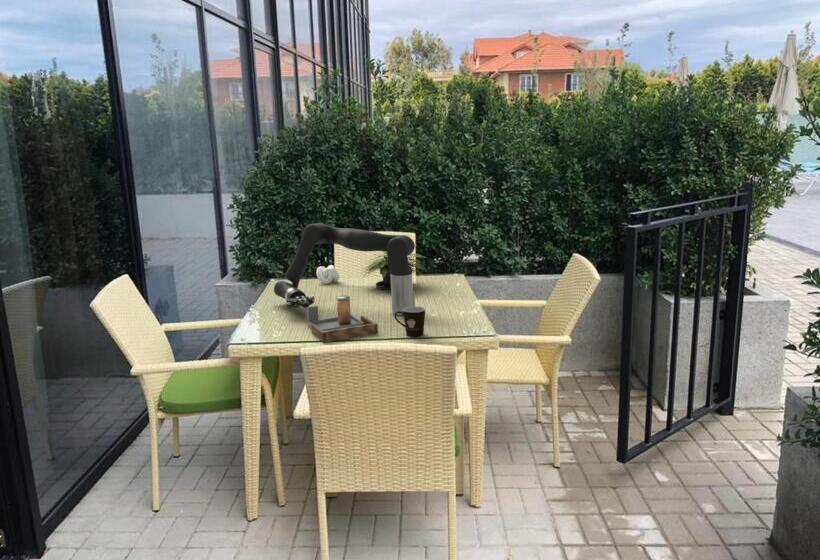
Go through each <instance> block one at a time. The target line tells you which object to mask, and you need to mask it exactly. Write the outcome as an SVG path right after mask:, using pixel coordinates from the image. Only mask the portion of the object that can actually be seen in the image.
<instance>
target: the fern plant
mask: <svg viewBox="0 0 820 560" xmlns="http://www.w3.org/2000/svg"><path fill="white" fill-rule="evenodd" d="M382 253H383V254H382V255H379V254H377V253H376V254H373V256H377V258H375V260H372V259H371V260H369V261H366V262H365V264H366V266H365V267H362V270H363V271H361V274H363V273H364V275H363V277H362V278H364V277H365V276H366V275H367V276H369V275H371V274H374V273H375V271H378V270H379V273H380V275H381V276H382V280H380V281H377V282H376V283H375V286H376V290H378V291H382V290H383V291H384V292H391V273H390V269H389V266H388V255H387V251H382ZM415 258H424V259H425V258H426V259H427V257H426V256H423V255H421V254H418V253H411V254H410V255H409V256H408V264H409V266H411V267H412V274H413V273H414V274H415V275H416V276H418V274H420V275H422V276H424V275H423V273H422V272H420V271H419V270H420V269H421V270H422V271H423V270H424V269H425V270H424V271H425V272H428V271H427V270H426V268H425V266H423V264H421V260H419V259H415ZM368 264H369V265H368ZM417 269H418V270H417ZM416 272H417V273H418V274H417V273H416ZM362 278H361V279H362Z"/></svg>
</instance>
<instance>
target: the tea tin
mask: <svg viewBox="0 0 820 560" xmlns="http://www.w3.org/2000/svg"><path fill="white" fill-rule="evenodd" d="M335 300H336V307H337V308H336V309H337V310H336V311H337V317H338V324H339V325H349V324H351V315H352V314H351V301H350V300H351V296H350V295H339V296H336V299H335Z"/></svg>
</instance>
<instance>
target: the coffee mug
mask: <svg viewBox="0 0 820 560" xmlns="http://www.w3.org/2000/svg"><path fill="white" fill-rule="evenodd" d="M397 313H401V314H402V315H401V316H402V317H403V321H404V323H403V322H401V321H400V320H398V318H397V315H396V314H397ZM393 316H394V319H395V321H397V323H399V324H400V325H401V326H403V327H404V328H405V333H406V336H407V337H408V338H420V336H421V337H423V336H422V335H424V329H425V318H426V307H424V306H415V307H407V308H404V309H403V312H400V311H399V312H396V313H395V315H393Z"/></svg>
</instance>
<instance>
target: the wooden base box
mask: <svg viewBox="0 0 820 560" xmlns="http://www.w3.org/2000/svg"><path fill="white" fill-rule="evenodd" d="M360 320H361V321H362V322H364V323H365V325H360V326H353V327H347V328H341V329H335V330H328V331H323V330H321V329H320V328H319V327H318V326H316V325H315V324H311V327H310V330H311V332H312V333H311V334H312V335H314V336H315V337H316V338H317V339H318V340H320V341H321V343H328V342H336V341H341V340H347V339H353V337H354V338H359V337H358V336H360V337H366V336H371V335H370V334H372V335H377V334H376V333H378V334H379V328H378V327H379V326H378V323H377V322H373V320H371V319H369V318H368V317H366V316H364V315H363V316H360ZM365 335H366V336H365Z"/></svg>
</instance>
